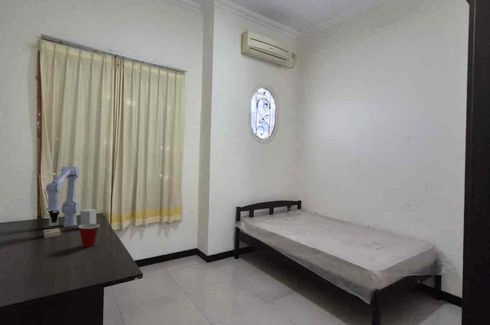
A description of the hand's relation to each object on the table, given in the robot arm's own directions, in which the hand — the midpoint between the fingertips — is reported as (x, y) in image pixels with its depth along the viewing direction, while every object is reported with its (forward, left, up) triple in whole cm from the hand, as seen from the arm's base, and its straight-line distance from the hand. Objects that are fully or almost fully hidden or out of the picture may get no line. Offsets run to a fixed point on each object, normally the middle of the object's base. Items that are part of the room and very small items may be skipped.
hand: (53, 221), depth 166 cm
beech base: (+1, -1, -9) cm, 9 cm away
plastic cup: (+38, +13, -9) cm, 41 cm away
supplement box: (-6, +21, -9) cm, 24 cm away
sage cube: (0, 0, -2) cm, 2 cm away
